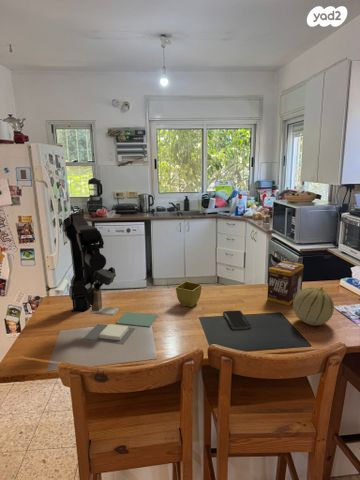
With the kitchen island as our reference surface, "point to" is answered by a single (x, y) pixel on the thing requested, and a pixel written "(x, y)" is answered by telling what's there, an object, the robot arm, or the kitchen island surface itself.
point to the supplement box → (284, 282)
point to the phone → (236, 320)
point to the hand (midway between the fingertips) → (93, 303)
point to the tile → (113, 332)
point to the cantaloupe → (313, 305)
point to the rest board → (137, 319)
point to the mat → (94, 336)
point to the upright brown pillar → (98, 307)
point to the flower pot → (188, 293)
